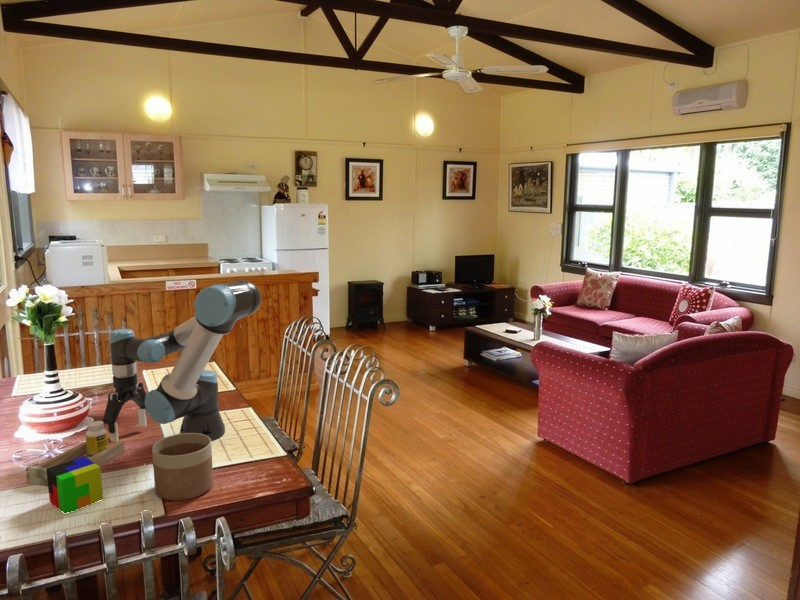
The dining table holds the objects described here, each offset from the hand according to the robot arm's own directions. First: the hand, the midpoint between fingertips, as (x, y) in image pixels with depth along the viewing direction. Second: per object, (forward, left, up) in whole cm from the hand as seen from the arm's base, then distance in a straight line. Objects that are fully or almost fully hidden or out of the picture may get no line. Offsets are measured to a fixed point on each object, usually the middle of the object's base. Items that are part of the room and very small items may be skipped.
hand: (129, 433), depth 206 cm
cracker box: (+41, -48, -2) cm, 63 cm away
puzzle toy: (-16, +39, -2) cm, 43 cm away
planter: (-40, +24, -2) cm, 47 cm away
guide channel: (0, +22, -2) cm, 22 cm away
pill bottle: (0, +14, -2) cm, 15 cm away
